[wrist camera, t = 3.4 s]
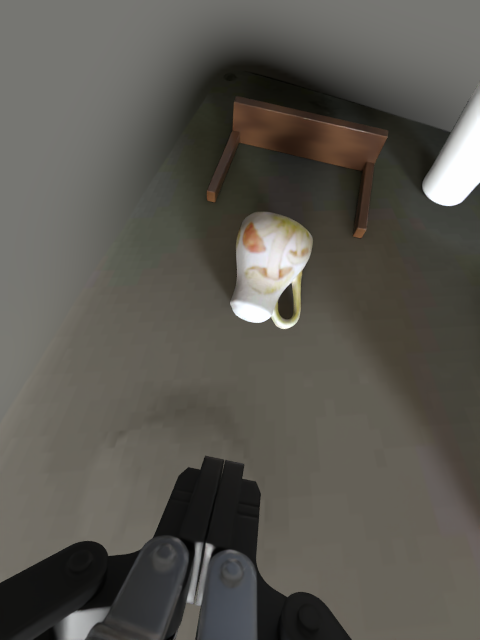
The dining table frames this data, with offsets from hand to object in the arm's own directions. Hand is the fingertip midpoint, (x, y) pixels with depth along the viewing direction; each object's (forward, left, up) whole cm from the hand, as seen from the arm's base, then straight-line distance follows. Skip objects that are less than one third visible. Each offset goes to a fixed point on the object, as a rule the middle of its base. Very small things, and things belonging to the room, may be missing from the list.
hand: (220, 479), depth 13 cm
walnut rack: (0, +33, -15) cm, 37 cm away
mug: (0, +18, -16) cm, 24 cm away
